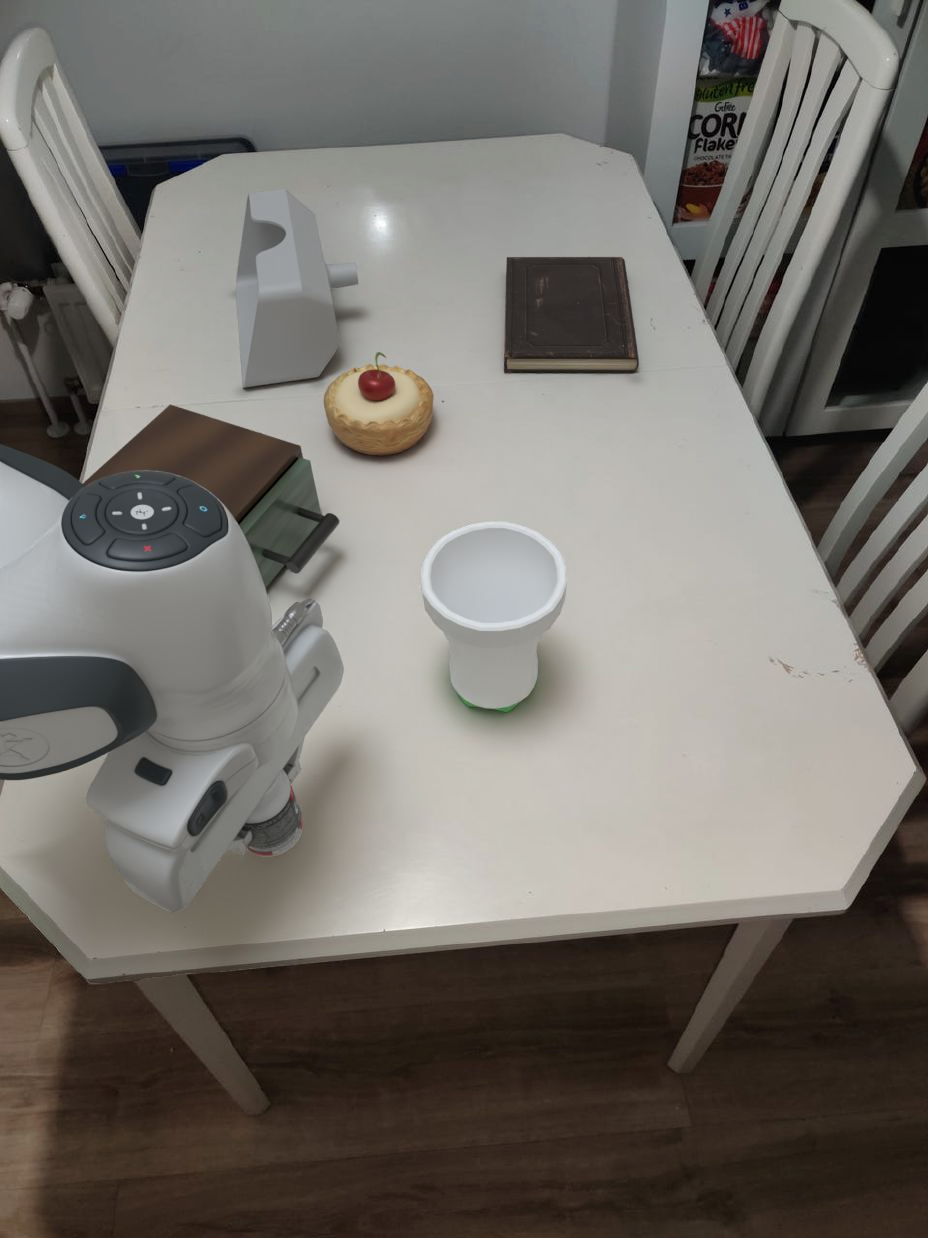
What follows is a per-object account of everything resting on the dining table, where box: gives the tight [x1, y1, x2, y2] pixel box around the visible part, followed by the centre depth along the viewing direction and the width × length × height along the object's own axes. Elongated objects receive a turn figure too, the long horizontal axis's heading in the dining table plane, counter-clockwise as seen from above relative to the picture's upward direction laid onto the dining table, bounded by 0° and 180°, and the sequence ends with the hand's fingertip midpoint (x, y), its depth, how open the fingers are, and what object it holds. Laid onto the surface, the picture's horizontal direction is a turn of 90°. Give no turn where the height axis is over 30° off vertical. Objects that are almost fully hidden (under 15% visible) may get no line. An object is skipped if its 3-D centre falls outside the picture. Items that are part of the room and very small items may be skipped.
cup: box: [419, 521, 568, 713], centre depth 71 cm, size 11×11×14 cm
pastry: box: [323, 351, 434, 456], centre depth 95 cm, size 12×12×9 cm
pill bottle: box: [244, 769, 304, 858], centre depth 62 cm, size 5×5×8 cm
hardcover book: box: [503, 256, 640, 374], centre depth 111 cm, size 16×23×2 cm
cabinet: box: [82, 404, 304, 523], centre depth 85 cm, size 16×14×10 cm
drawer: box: [238, 457, 340, 589], centre depth 84 cm, size 19×12×8 cm, turn 64°
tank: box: [235, 188, 359, 389], centre depth 107 cm, size 25×16×12 cm, turn 12°
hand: (263, 809), depth 63 cm, fingers closed on pill bottle, 5 cm apart
